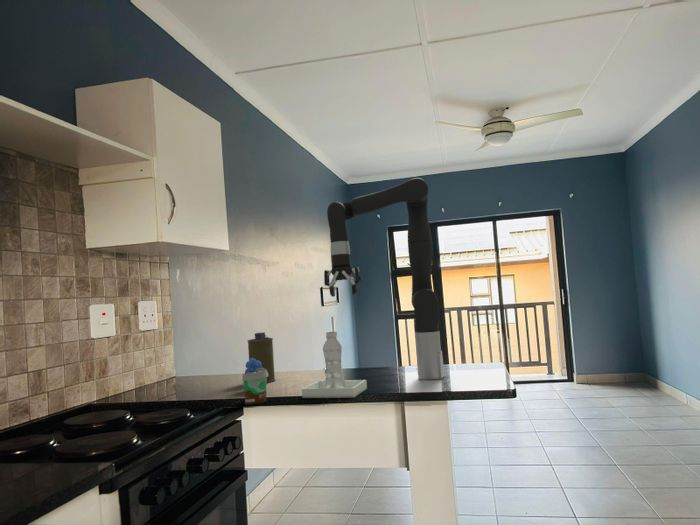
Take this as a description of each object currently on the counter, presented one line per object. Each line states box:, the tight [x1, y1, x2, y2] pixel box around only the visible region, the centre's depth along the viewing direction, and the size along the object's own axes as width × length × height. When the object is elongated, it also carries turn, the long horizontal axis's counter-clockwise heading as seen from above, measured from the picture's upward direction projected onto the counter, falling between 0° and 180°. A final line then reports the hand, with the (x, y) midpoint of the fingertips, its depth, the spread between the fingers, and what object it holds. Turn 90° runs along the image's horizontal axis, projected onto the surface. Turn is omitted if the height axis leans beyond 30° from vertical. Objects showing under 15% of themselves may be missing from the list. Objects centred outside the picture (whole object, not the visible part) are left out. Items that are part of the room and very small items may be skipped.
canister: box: [247, 332, 276, 384], centre depth 212 cm, size 11×10×20 cm
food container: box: [242, 369, 269, 406], centre depth 170 cm, size 12×6×10 cm, turn 168°
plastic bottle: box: [322, 331, 345, 388], centre depth 176 cm, size 6×7×20 cm
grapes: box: [244, 358, 264, 374], centre depth 191 cm, size 12×7×12 cm, turn 47°
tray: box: [301, 379, 368, 399], centre depth 175 cm, size 18×15×3 cm
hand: (343, 295), depth 198 cm, fingers open, 8 cm apart
